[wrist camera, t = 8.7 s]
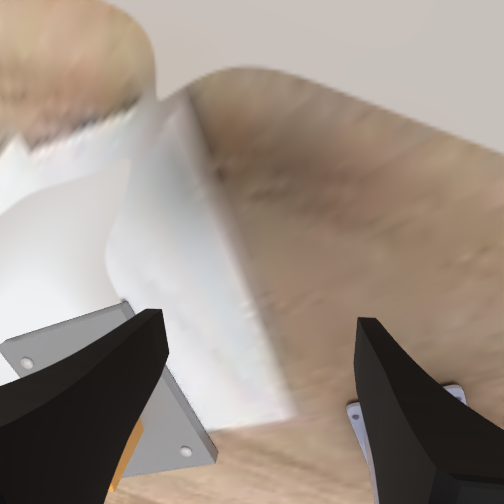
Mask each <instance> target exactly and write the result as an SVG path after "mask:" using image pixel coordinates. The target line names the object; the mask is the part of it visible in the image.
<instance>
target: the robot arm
mask: <svg viewBox="0 0 504 504" xmlns="http://www.w3.org/2000/svg"><path fill="white" fill-rule="evenodd" d="M168 355H169V348H168V342H167V336H166V330H165V324H164V319H163V313H162V309H145V310H143V311H141V312H140V313H138V314H137V315H135V316H133V317H132V318H130V319H129V320H127V321H126V322H124V323H123V324H121V325H120V326H118V327H116V328H115V329H113V330H112V331H110V332H109V333H107V334H106V335H104V336H102V337H101V338H99V339H97V340H96V341H94V342H92V343H91V344H89V345H87V346H86V347H84V348H82V349H81V350H79V351H77V352H75V353H74V354H72V355H70V356H68V357H66V358H64V359H62V360H60V361H58V362H56V363H54V364H52V365H50V366H48V367H46V368H44V369H41V370H39V371H37V372H34V373H32V374H29V375H27V376H25V377H22V378H20V379H18V380H15V381H13V382H10V383H7V384H5V385H2V386H0V504H104V501H105V498H106V495H107V493H108V490H109V487H110V485H111V482H112V479H113V477H114V474H115V471H116V469H117V466H118V464H119V461H120V459H121V456H122V454H123V451H124V449H125V446H126V444H127V441H128V439H129V437H130V435H131V433H132V431H133V429H134V427H135V425H136V423H137V421H138V419H139V417H140V416H141V414H142V412H143V410H144V408H145V406H146V404H147V402H148V400H149V399H150V397H151V395H152V393H153V391H154V389H155V387H156V385H157V383H158V381H159V379H160V377H161V375H162V372H163V369H164V367H165V364H166V361H167V358H168ZM354 372H355V381H356V390H357V394H358V399H359V402H357V403H351V404H349V405H347V407H346V409H347V414H348V417H349V419H350V422H351V424H352V426H353V429H354V431H355V434H356V436H357V439H358V441H359V444H360V446H361V448H362V451H363V453H364V456H365V458H366V461H367V463H368V466H369V472H370V478H371V484H372V490H373V496H374V502H375V504H504V430H503V429H501V428H500V427H498V426H496V425H495V424H493V423H492V422H490V421H489V420H487V419H485V418H484V417H483V416H481V415H480V414H478V413H477V412H475V411H474V410H472V409H471V408H470V407H468V406H467V403H466V399H465V395H464V392H463V390H462V388H461V387H460V386H459V385H449V386H444V387H442V386H441V385H440V384H438V383H437V382H436V381H435V380H434V379H433V378H431V377H430V376H429V375H428V374H427V373H426V372H425V371H424V370H423V369H422V368H421V367H420V366H419V365H418V364H417V363H416V362H415V361H414V360H413V359H412V358H411V357H410V356H409V355H408V354H407V353H406V352H405V351H404V350H403V349H402V348H401V347H400V345H399V344H398V343H397V342H396V341H395V340H394V339H393V337H392V336H391V335H390V334H389V333H388V332H387V330H386V329H385V328H384V327H383V325H382V324H381V323H380V322H379V321H378V320H377V319H376V318H366V317H358V319H357V331H356V342H355V353H354ZM456 397H457V398H456ZM355 414H356V415H355Z"/></svg>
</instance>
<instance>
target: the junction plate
mask: <svg viewBox="0 0 504 504" xmlns="http://www.w3.org/2000/svg"><path fill="white" fill-rule="evenodd" d="M133 316H135V314H134V312H133V311H132V309H131V307H130V306H129V304H128V302H127V301H126V302H123V303H120V304H117V305H114V306H110V307H107V308H104V309H101V310H98V311H95V312H92V313H89V314H85V315H83V316H79V317H76V318H73V319H70V320H67V321H63V322H60V323H57V324H54V325H51V326H48V327H45V328H42V329H38V330H35V331H32V332H29V333H26V334H23V335H20V336H16V337H13V338H11V339H7V340H5V341H4V342H3V343H2V344H0V353H1V354H2V355H3V357H4V358H5V359H6V360H7V362H8V363H9V364H10V365H11V367H12V368H13V369H14V370H15V372H16V373H17V374H18V376H19V377H20V378H22V377H25V376H27V375H29V374H32V373H34V372H37V371H39V370H41V369H44V368H46V367H48V366H50V365H52V364H54V363H56V362H58V361H60V360H62V359H64V358H66V357H68V356H70V355H72V354H74V353H75V352H77V351H79V350H81V349H82V348H84V347H86V346H87V345H89V344H91V343H92V342H94V341H96V340H97V339H99V338H101V337H102V336H104V335H106V334H107V333H109V332H110V331H112V330H113V329H115V328H116V327H118V326H120V325H121V324H123V323H124V322H126V321H127V320H129V319H130V318H132V317H133ZM140 418H141V422H142V426H143V430H144V431H143V433H142V436H141V438H140V440H139V442H138V444H137V446H136V448H135V450H134V452H133V454H132V456H131V458H130V460H129V462H128V464H127V466H126V468H125V471H124V473H123V475H122V477H121V478H124V477H130V476H137V475H143V474H150V473H156V472H163V471H170V470H176V469H183V468H189V467H196V466H202V465H209V464H215V463H216V459H217V455H218V451H217V450H216V448H215V447H214V445H213V443H212V442H211V440H210V438H209V437H208V435H207V433H206V432H205V430H204V428H203V427H202V425H201V423H200V422H199V420H198V418H197V417H196V415H195V413H194V412H193V410H192V408H191V407H190V405H189V403H188V402H187V400H186V398H185V397H184V395H183V393H182V392H181V390H180V388H179V387H178V385H177V384H176V382H175V380H174V379H173V377H172V375H171V374H170V372H169V370H168V369H167V367H166V365H165V367H164V369H163V372H162V375H161V377H160V379H159V381H158V383H157V385H156V387H155V389H154V391H153V393H152V395H151V397H150V399H149V400H148V402H147V404H146V406H145V408H144V410H143V412H142V414H141V416H140Z"/></svg>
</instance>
